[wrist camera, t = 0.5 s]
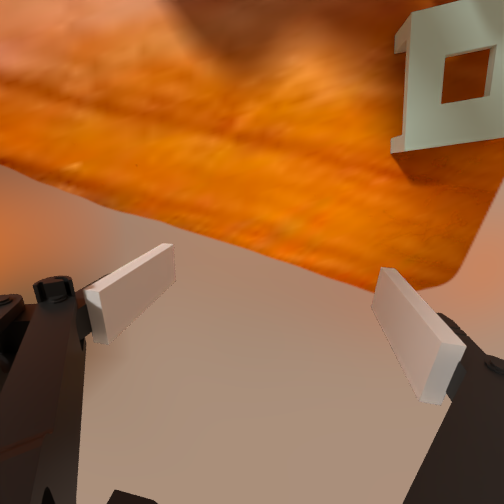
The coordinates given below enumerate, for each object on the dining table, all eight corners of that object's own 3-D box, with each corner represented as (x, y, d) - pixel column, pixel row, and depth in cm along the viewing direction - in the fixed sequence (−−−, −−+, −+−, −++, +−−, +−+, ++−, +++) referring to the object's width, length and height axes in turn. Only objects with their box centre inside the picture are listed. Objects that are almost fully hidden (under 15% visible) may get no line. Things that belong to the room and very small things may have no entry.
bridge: (394, 35, 31) (411, 12, 26) (508, 8, 28) (549, -22, 24) (390, 153, 35) (404, 151, 31) (488, 139, 33) (520, 135, 28)
